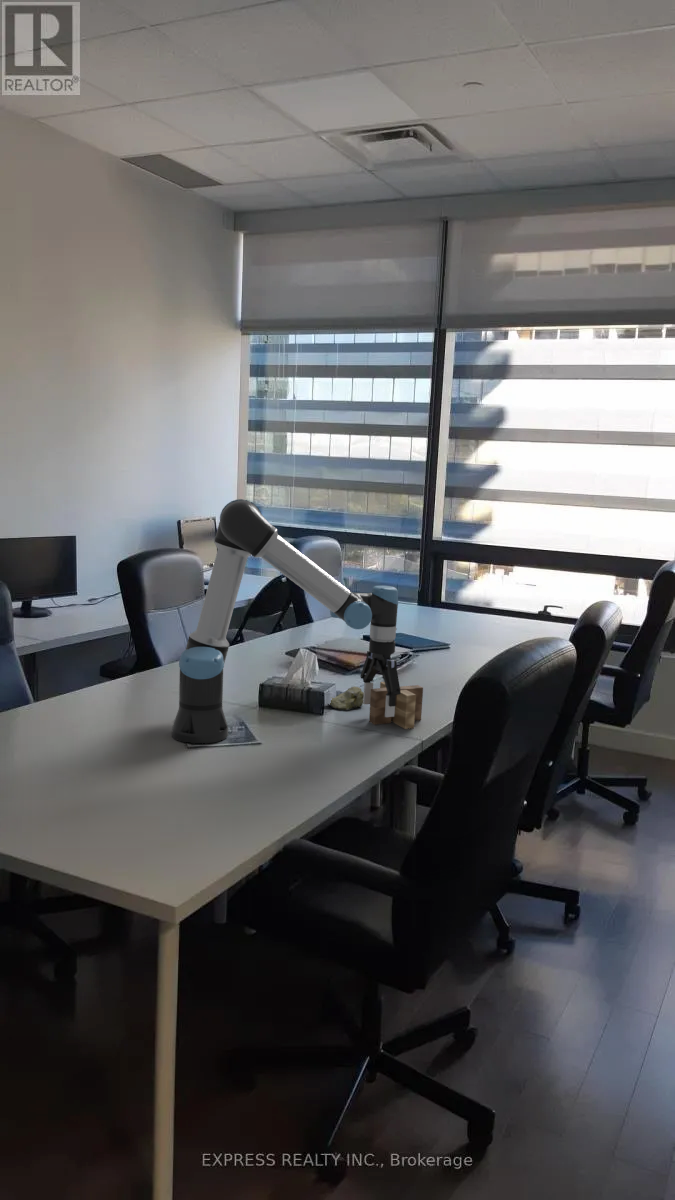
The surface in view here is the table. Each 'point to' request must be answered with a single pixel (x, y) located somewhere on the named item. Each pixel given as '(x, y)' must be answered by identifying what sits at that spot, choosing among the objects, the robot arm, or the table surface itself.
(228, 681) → the table surface
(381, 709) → the walnut plate
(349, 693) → the rock
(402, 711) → the oak board
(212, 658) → the robot arm
